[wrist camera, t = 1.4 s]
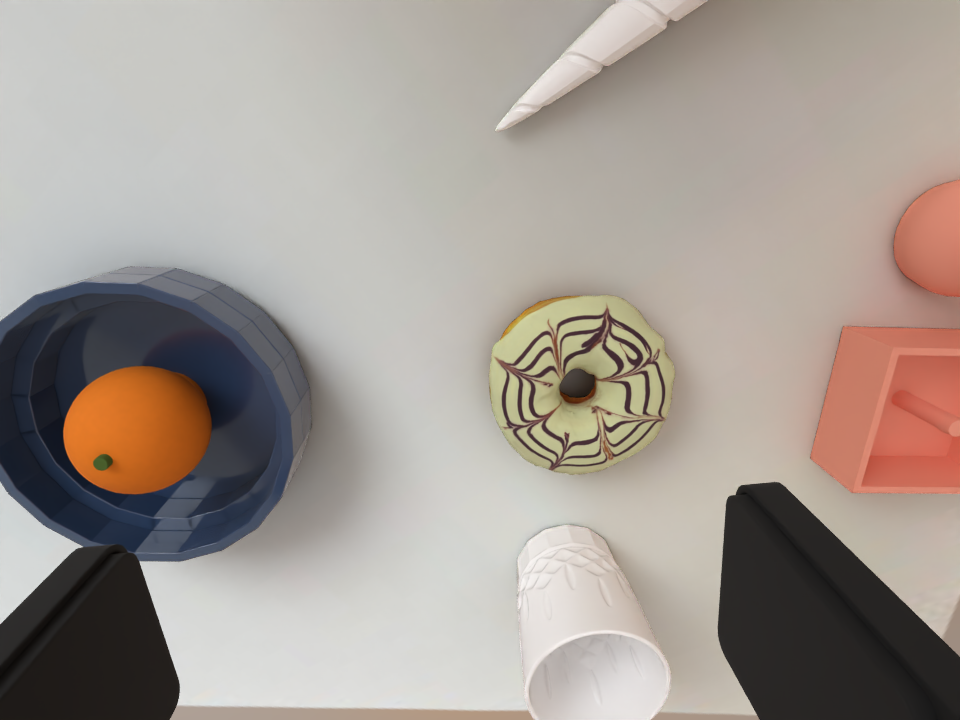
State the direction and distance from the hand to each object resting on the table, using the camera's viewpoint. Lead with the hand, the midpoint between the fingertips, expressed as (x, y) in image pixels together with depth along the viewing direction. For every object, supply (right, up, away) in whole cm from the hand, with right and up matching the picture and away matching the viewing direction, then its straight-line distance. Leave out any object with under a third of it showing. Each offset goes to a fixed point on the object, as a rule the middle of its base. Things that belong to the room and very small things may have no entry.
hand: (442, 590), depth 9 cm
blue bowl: (-18, +1, +25) cm, 31 cm away
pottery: (+28, +6, +26) cm, 38 cm away
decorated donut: (+6, +3, +26) cm, 27 cm away
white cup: (+6, -11, +31) cm, 33 cm away
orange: (-18, +1, +25) cm, 31 cm away
